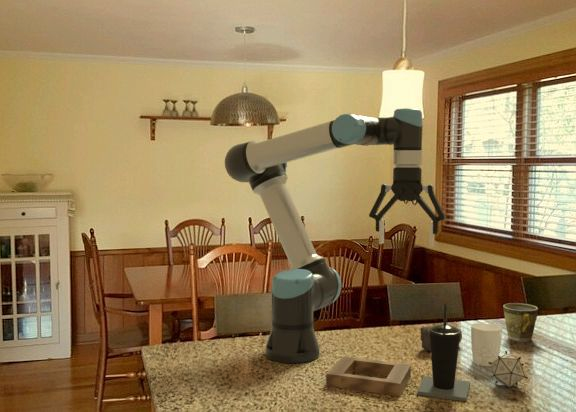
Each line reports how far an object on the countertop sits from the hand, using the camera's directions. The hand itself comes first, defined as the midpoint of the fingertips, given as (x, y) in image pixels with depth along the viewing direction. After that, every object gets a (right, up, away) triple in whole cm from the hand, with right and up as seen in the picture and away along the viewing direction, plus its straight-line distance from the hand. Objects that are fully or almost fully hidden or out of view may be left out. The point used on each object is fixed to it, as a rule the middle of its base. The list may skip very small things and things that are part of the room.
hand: (406, 245), depth 164 cm
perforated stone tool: (+12, -31, +11) cm, 35 cm away
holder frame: (-12, -33, -15) cm, 38 cm away
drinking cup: (+5, -33, -20) cm, 39 cm away
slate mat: (+5, -33, -20) cm, 39 cm away
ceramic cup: (+39, -31, +20) cm, 54 cm away
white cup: (+21, -32, -1) cm, 39 cm away
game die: (+21, -33, -18) cm, 43 cm away
